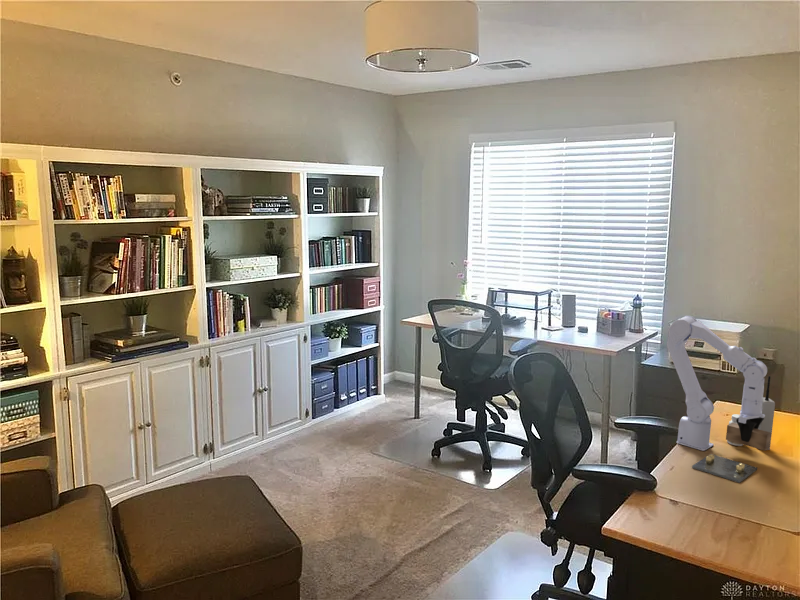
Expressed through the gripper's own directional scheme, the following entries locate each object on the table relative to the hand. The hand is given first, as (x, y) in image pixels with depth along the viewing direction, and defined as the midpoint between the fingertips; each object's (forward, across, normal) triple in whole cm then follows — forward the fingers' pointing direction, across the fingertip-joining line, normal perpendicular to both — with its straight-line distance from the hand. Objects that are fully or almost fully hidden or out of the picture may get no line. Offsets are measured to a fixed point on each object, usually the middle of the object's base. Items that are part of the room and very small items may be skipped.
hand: (747, 439), depth 211 cm
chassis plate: (+6, -15, +1) cm, 16 cm away
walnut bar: (+1, 0, 0) cm, 1 cm away
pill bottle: (+6, +10, +7) cm, 14 cm away
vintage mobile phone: (+6, +13, 0) cm, 14 cm away
